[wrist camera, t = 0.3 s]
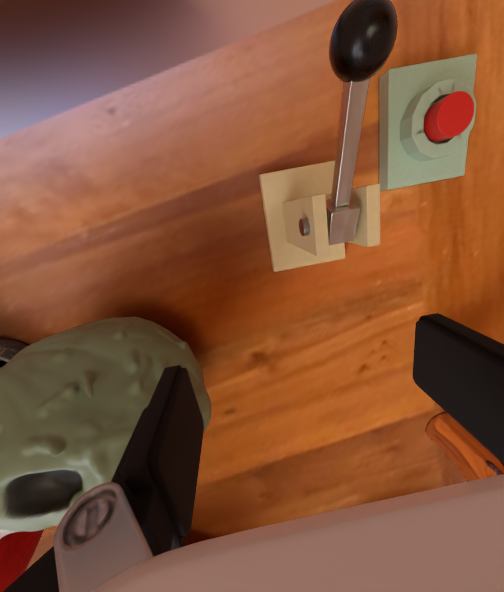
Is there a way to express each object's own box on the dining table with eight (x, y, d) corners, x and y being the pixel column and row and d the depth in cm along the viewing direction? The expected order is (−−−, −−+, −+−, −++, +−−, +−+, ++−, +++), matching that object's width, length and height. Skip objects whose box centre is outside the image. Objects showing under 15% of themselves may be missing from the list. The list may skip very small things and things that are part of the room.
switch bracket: (258, 175, 27) (277, 148, 16) (336, 161, 27) (409, 124, 16) (272, 270, 31) (296, 301, 19) (341, 256, 31) (404, 280, 20)
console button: (424, 102, 23) (438, 94, 22) (459, 96, 23) (477, 87, 22) (422, 144, 24) (436, 139, 23) (455, 138, 25) (472, 133, 23)
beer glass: (429, 446, 43) (525, 558, 29) (418, 422, 41) (516, 530, 27) (465, 429, 43) (581, 535, 29) (456, 403, 41) (576, 504, 26)
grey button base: (378, 78, 25) (401, 57, 22) (462, 63, 25) (496, 40, 22) (378, 191, 29) (398, 188, 25) (451, 177, 29) (480, 172, 25)
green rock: (208, 402, 36) (183, 605, 17) (74, 387, 34) (-128, 608, 15) (226, 307, 32) (219, 444, 13) (72, 281, 29) (-228, 406, 10)
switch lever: (322, 5, 12) (350, -9, 10) (382, -5, 12) (423, -21, 10) (310, 230, 21) (323, 249, 19) (345, 223, 22) (362, 242, 19)
